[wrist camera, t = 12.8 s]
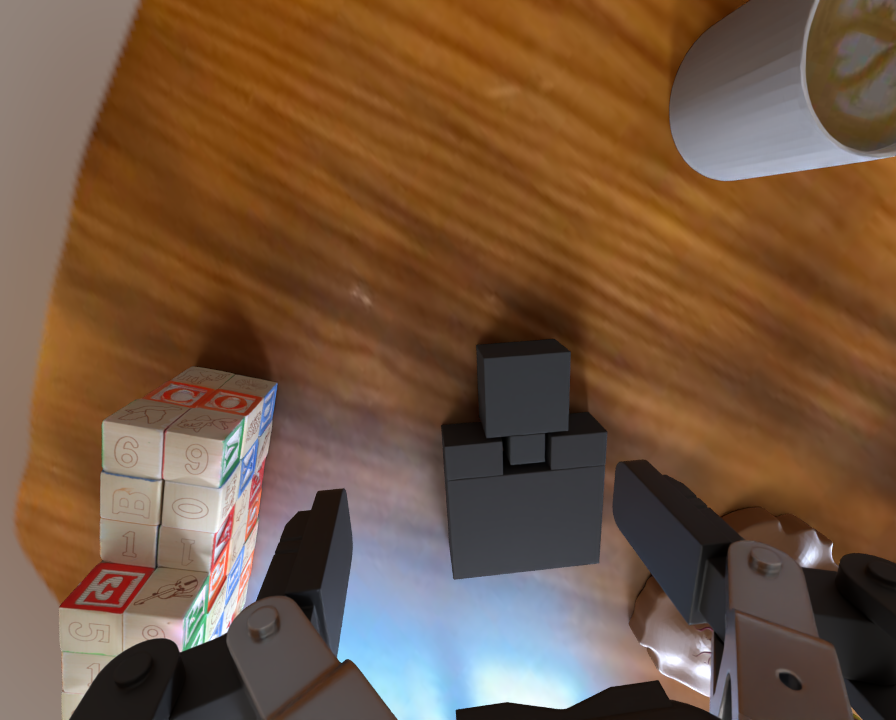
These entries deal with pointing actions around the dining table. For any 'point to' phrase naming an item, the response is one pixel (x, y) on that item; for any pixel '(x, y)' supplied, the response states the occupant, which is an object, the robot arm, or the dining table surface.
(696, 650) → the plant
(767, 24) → the coffee mug
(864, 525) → the dining table surface
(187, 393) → the stack of blocks
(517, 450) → the pad
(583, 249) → the dining table surface
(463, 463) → the notch pad
